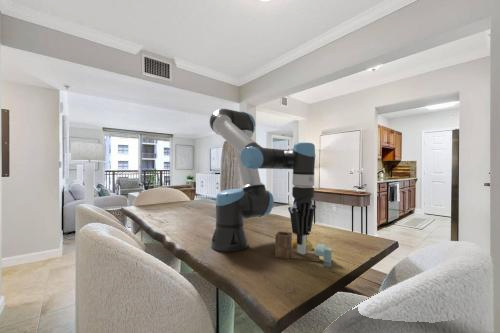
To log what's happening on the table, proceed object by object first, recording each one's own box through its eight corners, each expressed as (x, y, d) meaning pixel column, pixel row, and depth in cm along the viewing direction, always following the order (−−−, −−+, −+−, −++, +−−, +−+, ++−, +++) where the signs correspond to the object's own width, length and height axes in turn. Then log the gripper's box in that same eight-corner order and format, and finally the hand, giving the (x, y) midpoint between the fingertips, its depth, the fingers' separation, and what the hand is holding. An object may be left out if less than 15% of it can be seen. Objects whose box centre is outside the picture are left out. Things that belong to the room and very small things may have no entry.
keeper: (315, 265, 76) (315, 251, 76) (317, 256, 83) (317, 244, 83) (331, 267, 74) (331, 253, 74) (331, 258, 81) (331, 245, 82)
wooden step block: (319, 257, 83) (319, 235, 83) (318, 262, 78) (319, 239, 78) (278, 251, 88) (278, 231, 88) (275, 256, 83) (275, 234, 83)
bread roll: (291, 252, 88) (291, 242, 88) (292, 244, 97) (292, 235, 97) (313, 254, 87) (313, 243, 87) (312, 246, 95) (312, 237, 95)
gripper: (300, 188, 73) (298, 261, 73) (323, 186, 81) (321, 252, 81) (282, 186, 78) (280, 253, 78) (305, 184, 87) (304, 245, 87)
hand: (301, 252), depth 80 cm, fingers closed
